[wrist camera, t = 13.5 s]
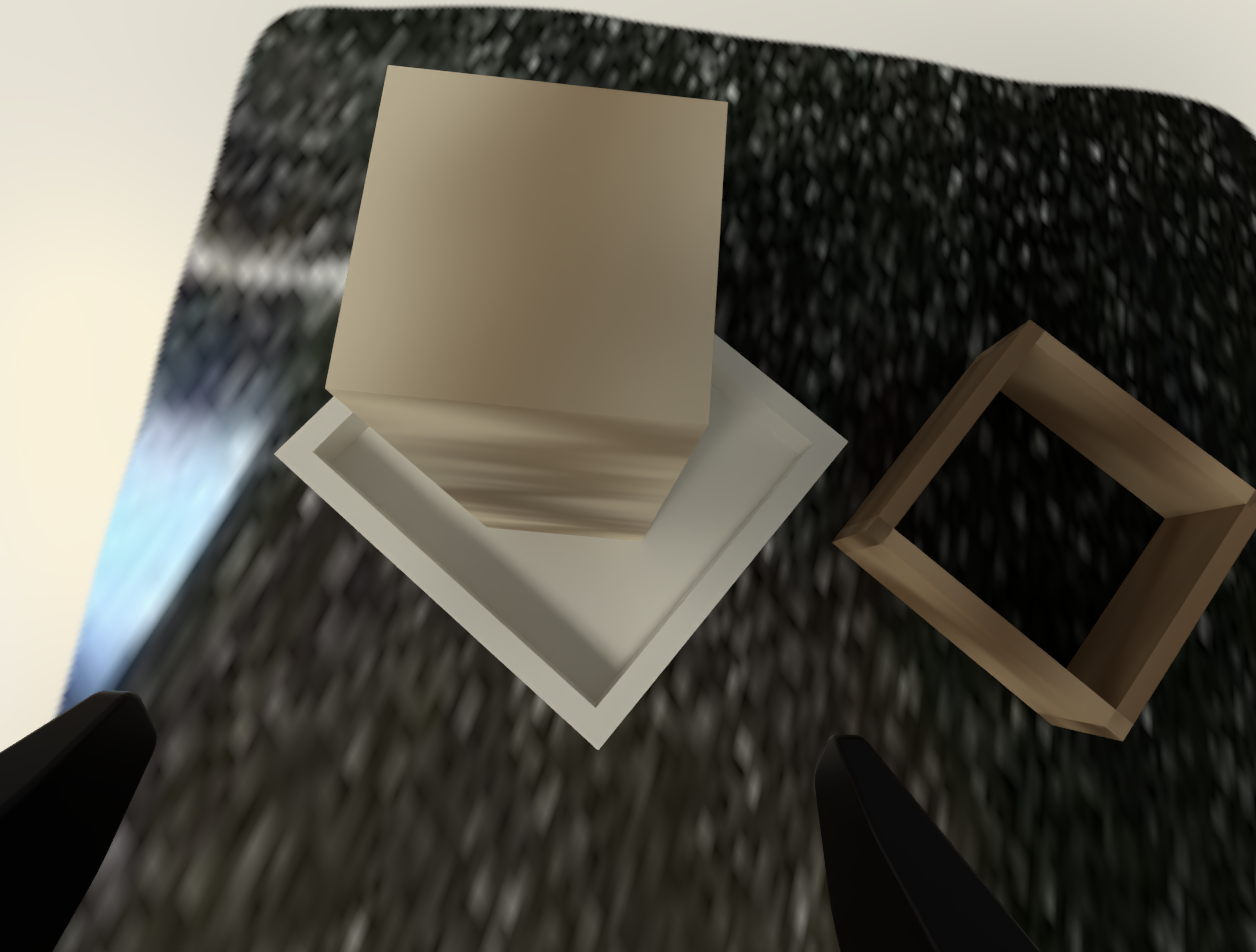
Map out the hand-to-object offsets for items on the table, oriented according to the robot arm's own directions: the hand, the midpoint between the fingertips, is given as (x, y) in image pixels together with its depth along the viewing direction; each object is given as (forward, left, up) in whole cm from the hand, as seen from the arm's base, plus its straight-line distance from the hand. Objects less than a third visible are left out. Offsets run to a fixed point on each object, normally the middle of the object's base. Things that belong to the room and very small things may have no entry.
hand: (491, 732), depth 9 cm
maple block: (-4, +5, -12) cm, 14 cm away
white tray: (-4, +5, -13) cm, 15 cm away
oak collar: (+9, +14, -13) cm, 21 cm away
